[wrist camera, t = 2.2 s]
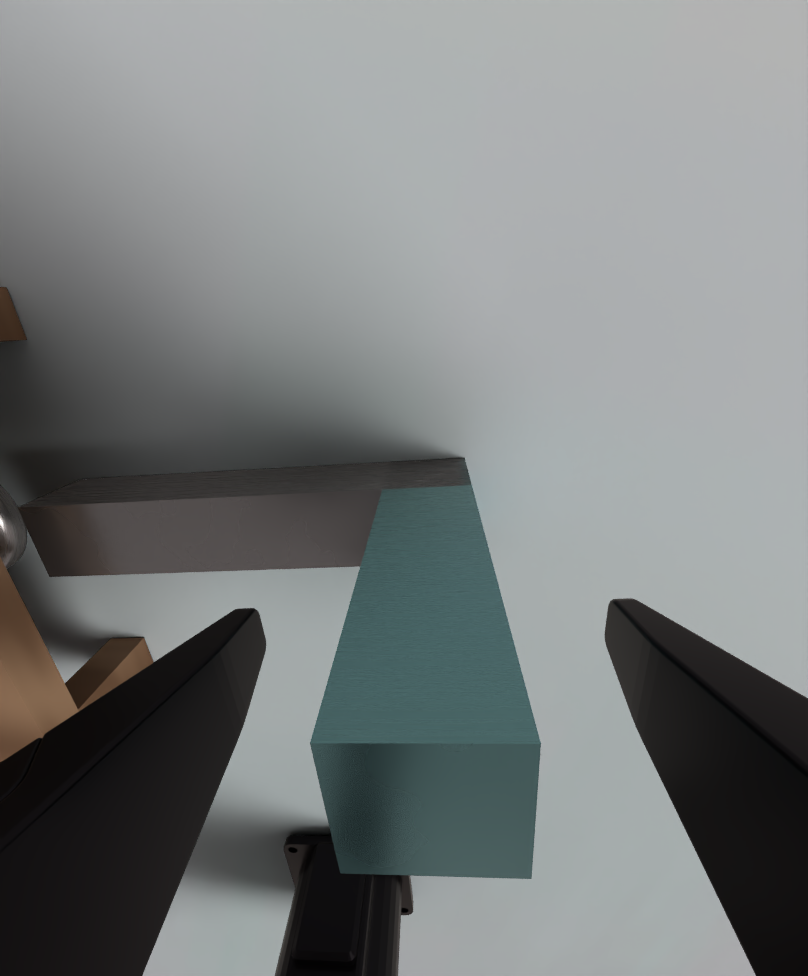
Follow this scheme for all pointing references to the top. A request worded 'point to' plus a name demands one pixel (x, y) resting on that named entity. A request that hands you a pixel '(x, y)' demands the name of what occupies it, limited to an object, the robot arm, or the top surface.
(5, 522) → the disc
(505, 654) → the teal angled piece
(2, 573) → the stand
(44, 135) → the top surface
